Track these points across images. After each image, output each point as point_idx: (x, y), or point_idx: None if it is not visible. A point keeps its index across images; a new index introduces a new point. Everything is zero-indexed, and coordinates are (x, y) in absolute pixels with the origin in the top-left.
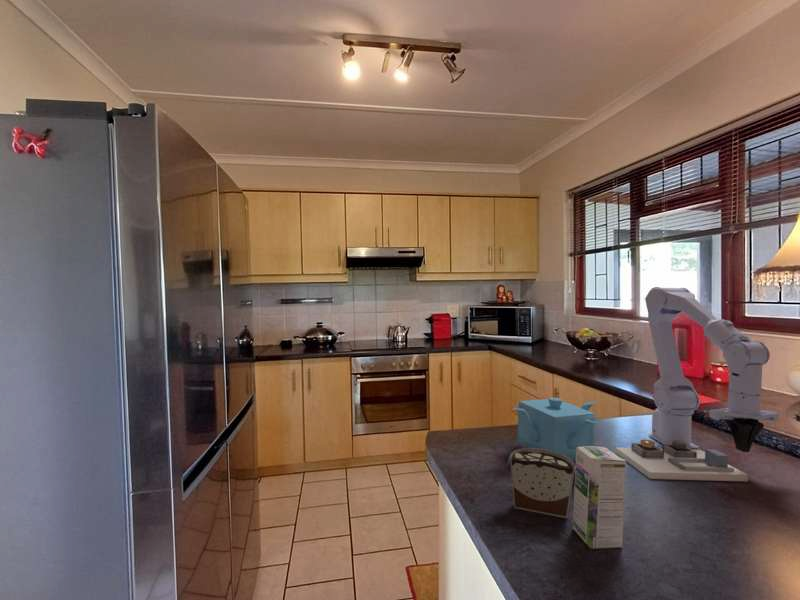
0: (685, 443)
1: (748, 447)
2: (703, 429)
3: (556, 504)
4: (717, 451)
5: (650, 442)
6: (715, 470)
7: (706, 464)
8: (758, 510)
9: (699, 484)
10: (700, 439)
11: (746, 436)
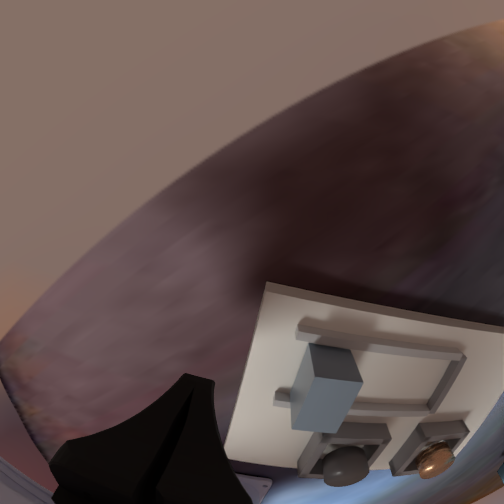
0: (334, 471)
1: (188, 387)
2: None
3: None
4: (307, 414)
5: (437, 464)
6: (370, 338)
7: None
8: (451, 117)
9: (459, 289)
10: None
11: (199, 437)
